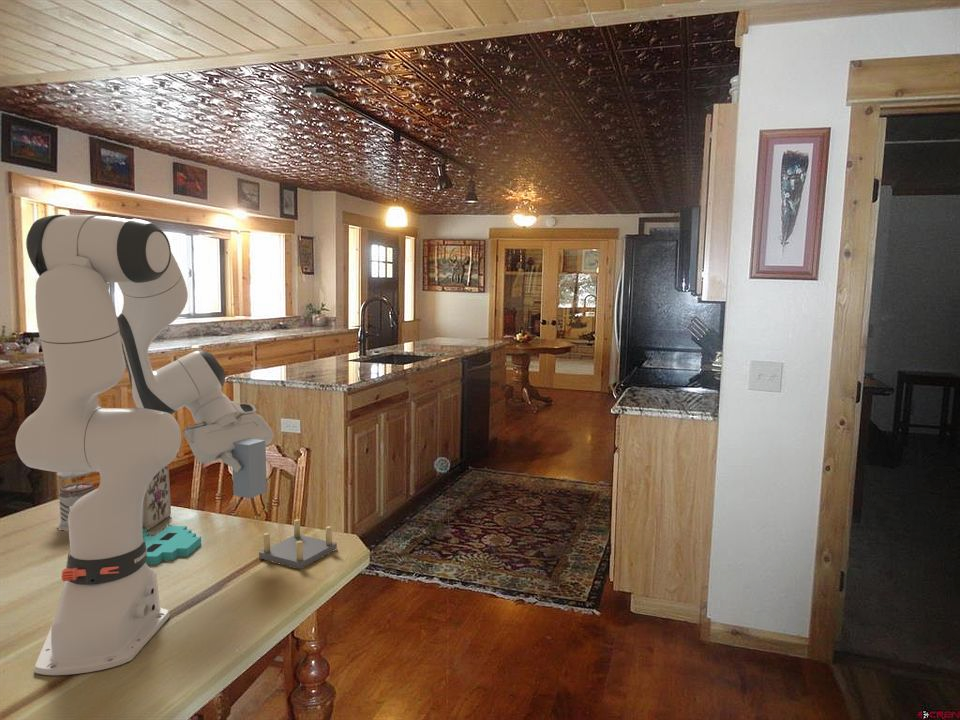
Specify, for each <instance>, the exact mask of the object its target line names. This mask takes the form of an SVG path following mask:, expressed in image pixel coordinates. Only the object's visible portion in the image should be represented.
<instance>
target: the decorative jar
mask: <svg viewBox="0 0 960 720" xmlns="http://www.w3.org/2000/svg"><path fill="white" fill-rule="evenodd" d="M170 484H171V483H170V471H169V466H168V465H167V466H165V467H164V468H163V469H161V470H160V471H159V472H158V473H157V474H156V475H155V477H154V478H153V479H152V481H151V482H150V484H149V486H148V488H147V490H146V493H145V496H144V501H143V514H142V529H146V532H148V531H149V530H151V529H152V528H154V527H155V526H157V525H159V524H160V523H161V522H163V521H164V520H166V519H167V518H169V517H170V516H171V514H172V513H171V511H172V508H171V507H172V506H171V505H172V504H171V503H172V502H171V485H170Z"/></svg>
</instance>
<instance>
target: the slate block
mask: <svg viewBox="0 0 960 720" xmlns="http://www.w3.org/2000/svg"><path fill="white" fill-rule="evenodd" d="M233 444H234V446H235V449H234V450H232V457H233V458H235V459H236V460H237V461H240V460H241V462H242V464H244V468H243V469H242V470H241V471H238V472H235V471H234V469H233V468H232V493H233V496H235V497H242V498H246V499H253V498H255V497H257V496H259V495H263V494H265V493H267V492H268V491H267V487H268V486H267V456H266V455H267V453H266V452H267V451H266V447H267V446H265V440H259V439H252V438H248V439H244V440H240V441H236V442H233Z"/></svg>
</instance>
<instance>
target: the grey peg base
mask: <svg viewBox="0 0 960 720" xmlns="http://www.w3.org/2000/svg"><path fill="white" fill-rule="evenodd" d="M262 535H263V536H262V541H263V544H262V545H263V549H262V550H260V551H259V552H258V559H259V558H260V559H259V560H262V559H265V560H264V561H266V560H269V561H268V562H270V561H273V562H272V563H274V562H275V563H274V564H277V563H280V564H279V565H281V564H283V565H282V566H285V565H288V566H287V567H289V566H291V567H290V568H292V567H295V568H294V569H296V568H299V569H298V570H300V569H301V570H302V569H304V568H306V567H308V566H310V565H311V564H313V563H315V562H316V560H317V561H318V559H319V560H320V559H322V558H323V557H322V556H324V557H326V556H327V555H326V554H328V553H329V554H331V553H333V552H334V551H333V550H335V549H337V550H338V545H337V544H338V543H337V542H334V541H333V526H331V525H329V526H325V539H320V538H315V537H311V536H307V535H302V534H301V519H299V518H298V519H294V520H293V535H292V536H289V537H288V538H286V539H284V540H282V541H279V542H277V543H275V544H273V545H271V533H269V532H264V533H262ZM332 551H333V552H332ZM335 551H336V550H335ZM330 552H331V553H330ZM329 554H328V555H329ZM325 555H326V556H325ZM321 557H322V558H321ZM314 561H315V562H314ZM309 564H310V565H309ZM307 565H308V566H307ZM305 566H306V567H305ZM303 567H304V568H303Z"/></svg>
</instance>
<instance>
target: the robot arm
mask: <svg viewBox="0 0 960 720" xmlns="http://www.w3.org/2000/svg"><path fill="white" fill-rule="evenodd" d="M25 242H26V243H25V245H26V246H25V247H26V251H27V254H28V258H29V260H30V263H31V264H32V266H33V268H34V269H35V271H36V274H37V275H38V276H39V277H38V279H37V280H36V282H35V315H36V323H37V330H38V334H39V340H40V345H41V349H42V355H43V356H42V357H43V361H44V367H45V375H46V389H45V394H44V396H43V399H42V401H41V403H40V405H39V407H38V408H37V409H36V410H34V412H33V413H31V414H30V415H29V416H27V417H26V418H25V419H24V421H23V422H22V423H21V424H20V426H19V428H18V430H17V432H16V436H15V449H16V453H17V456H18V457H19V459H20V460H21V462H22V463H23V464H24V465H25V466H26V467H29V468H31V469H36V470H41V471H46V472H47V471H48V472H53V473H58V472H93V473H99V477H100V478H99V486H98V487H97V488H96V489H95V488H94V490H93V491H91V492H89V493H85V494H83V495H84V496H82V497H81V498H79V499H78V500H77V501H76V502H75V503H74V504H73V506H71V508H70V512H69V514H68V525H69V531H68V539H69V552H68V553H67V560H66V564H65V568H64V569H62V570H61V571H62V572H61V580H62V582H63V587H62V590H61V594H60V597H59V600H58V604H57V607H56V610H55V613H54V616H53V617H54V618H53V621H52V623H51V625H50V629H49V631H48V633H47V636H46V637H45V641H44V643H43V646H42V647H41V650H40V652H39V655H38V656H37V660H36V662H35V665H34V673H35V674H38V675H42V676H43V675H45V676H69V675H77V674H85V673H92V672H93V673H94V672H98V671H102V670H106V669H110V668H111V669H112V668H115V667H118V666H120V665H124V664H126V663H128V662H130V661H132V660H133V659H134V658H135V657H136V656H137V654H138V653H140V651H141V650H142V649H143V647H145V645H146V644H148V642H149V641H150V640H151V639H152V637H153V636H154V635H155V634H156V633H157V632H158V631H159V630H160V629H161V628H162V626H163V625H164V624H165V622H167V621H168V620H169V618H170V616H171V615H170V611H169V609H167V608H165V607H164V608H163V607H161V602H160V601H161V600H160V594H159V593H160V592H159V585H158V579H157V578H158V576H157V572H155V571H154V570H152V569H151V568H150V566H148V564H146V561H147V547H146V542H145V540H144V539H143V531H142V514H143V501H144V496H145V493H146V490H147V488H148V486H149V484H150V482H151V481H152V479H153V478H154V477H155V475H156V474H157V473H158V472H159V471H160V470H161V469H163V468H164V467H165V466H168V465H170V463H171V462H172V461H173V460H175V458H176V456H177V455H178V453H179V451H180V448H181V444H182V433H183V436H184V438H185V439H186V441H187V442H188V446H189V447H190V450H191V453H192V454H193V456H194V458H195V459H196V460H197V462H199V463H201V464H207V463H211V462H213V461H218V460H221V461H222V463H224V464H226V465H228V466H229V467H231V468H232V470H233V469H234V471H235V472H238V471H241V470H242V469H243V468H244V464H242V462H241V460H240V461H237V460H236V459H235V458H233V457H232V450H234V449H235V446H234V444H233V442H236V441H240V440H244V439H248V438H252V439H259V440H265V447H267V446H268V445H269V444H270V443H271V442H272V441H273V439H274V437H275V435H274V431H273V429H272V428H271V427H270V426H269V424H268V423H267V421H266V420H265V418H264V417H263V416H261V415H260V414H258V413H256V412H257V408H256V406H255V405H253V404H250V403H243V402H237V401H232V400H231V399H230V397H228V396H227V395H226V394H225V393H224V392H223V391H222V389H223V387H224V384H225V381H226V376H227V375H226V374H227V373H226V372H225V370H224V368H223V367H222V366H221V364H220V363H219V361H218V360H217V359H216V357H215V356H214V354H213V353H210V352H208V351H205V350H201V349H200V350H199V349H198V350H195V351H192V352H190V353H187V354H186V355H183V356H181V357H179V358H178V359H176V360H173V361H172V362H170V363H168V364H166V365H164V366H162V367H160V368H158V369H155V370H153V368H152V364H151V359H150V356H149V348H150V346H151V344H152V342H153V341H154V340H155V339H156V338H157V336H158V335H160V334H161V333H162V332H163V330H165V329H166V328H167V327H168V326H169V325H171V324H172V323H173V322H175V320H177V318H179V316H180V315H181V314H182V312H183V310H184V309H185V308H186V305H187V302H188V299H189V298H188V297H189V296H188V295H189V294H188V293H189V292H188V288H187V284H186V281H185V278H184V276H183V273H182V270H181V268H180V265H179V264H178V262H177V260H176V258H175V256H174V255H173V253H172V251H171V244H170V241H169V238H168V237H167V235H166V234H165V232H164V231H163V230H162V229H161V228H160V227H159V226H158V225H157V224H155V223H153V222H151V221H147V220H143V219H138V218H132V219H128V218H121V217H113V216H105V215H102V214H101V215H100V214H72V215H71V214H70V215H65V214H53V215H47V216H44V217H41V218H38V219H36V220H35V221H34V222H33V223H32V225H31V227H30V229H29V231H28V233H27V235H26V241H25ZM111 283H114V284H117V285H118V287H119V290H120V291H121V293H122V297H123V306H122V310H121V313H120V314H119V315H118V316H117V313H116V309H115V305H114V303H113V299H112V296H111V293H110V291H109V290H110V286H111ZM126 370H127V375H128V377H129V382H130V389H131V394H132V399H133V400H132V401H133V402H134V405H135V406H136V407H113V408H109V407H101V406H100V404H99V395H100V394H103V393H105V392H107V391H108V390H110V389H112V388H113V387H115V386H116V385H118V384H119V383H120V381H121V380H122V379H123V377H124V375H125V372H126ZM182 408H186V409H188V411H189V412H190V413H191V417H192V419H193V421H194V422H195V423H194V424H188V425H186V426H185V428H184V429H183V432H182V430H181V427H180V425H179V423H178V421H177V419H176V418H175V417H174V416H173V414H175V413H176V412H177V411H178V410H180V409H182Z"/></svg>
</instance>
